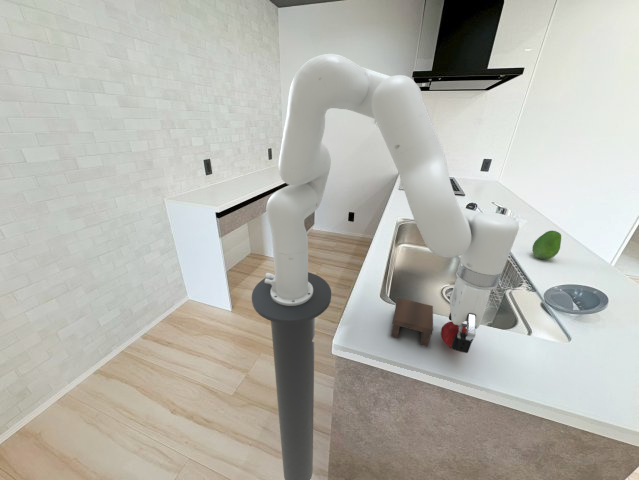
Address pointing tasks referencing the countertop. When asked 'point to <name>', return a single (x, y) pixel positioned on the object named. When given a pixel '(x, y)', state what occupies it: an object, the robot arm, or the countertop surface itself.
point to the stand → (413, 318)
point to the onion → (450, 332)
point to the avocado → (547, 245)
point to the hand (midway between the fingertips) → (457, 334)
